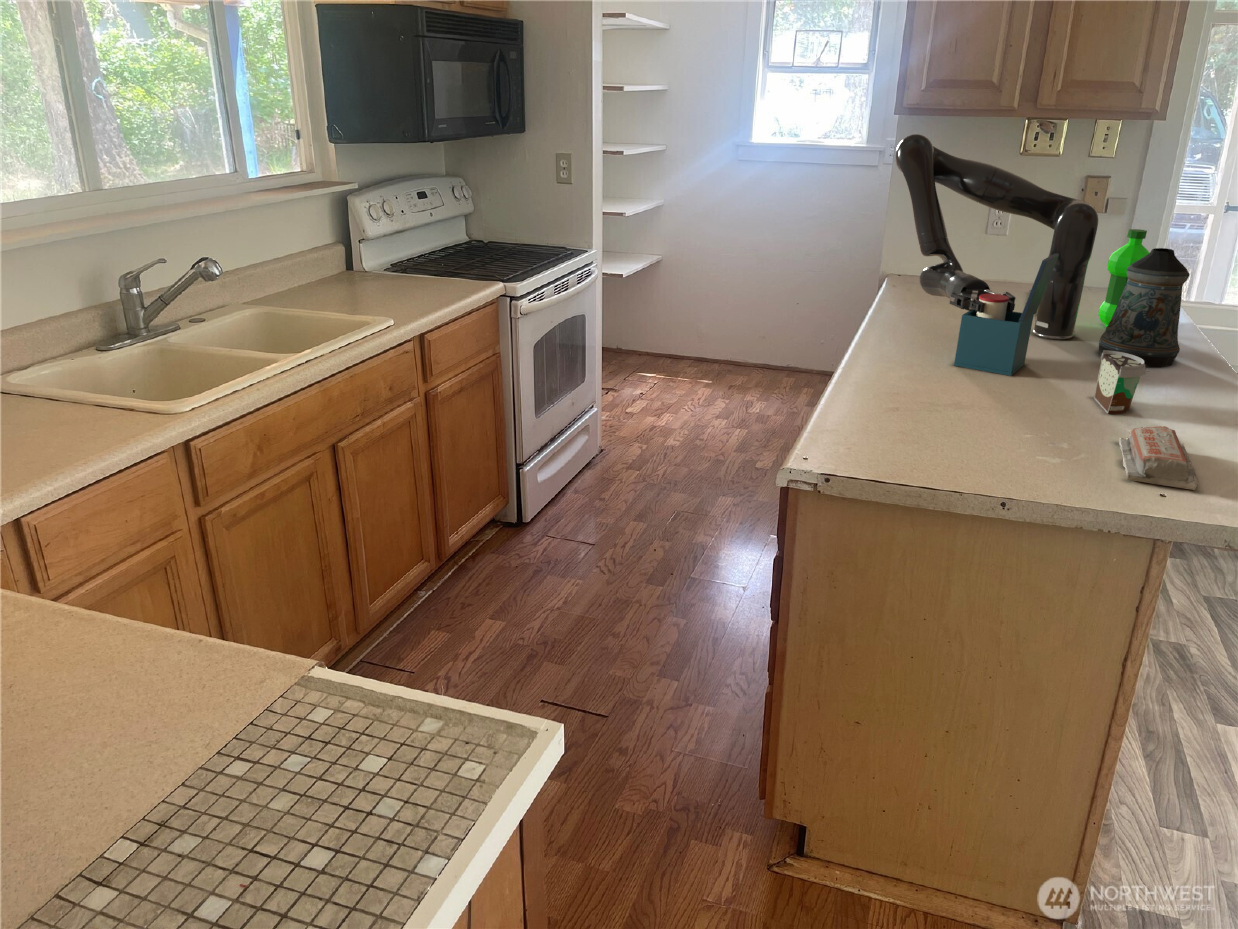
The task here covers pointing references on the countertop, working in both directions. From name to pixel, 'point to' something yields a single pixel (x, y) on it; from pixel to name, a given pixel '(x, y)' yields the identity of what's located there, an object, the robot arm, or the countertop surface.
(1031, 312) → the cool box lid
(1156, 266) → the beer stein
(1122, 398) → the food container
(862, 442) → the countertop surface
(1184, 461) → the packaged product
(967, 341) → the cool box
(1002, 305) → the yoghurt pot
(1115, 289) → the plastic bottle
